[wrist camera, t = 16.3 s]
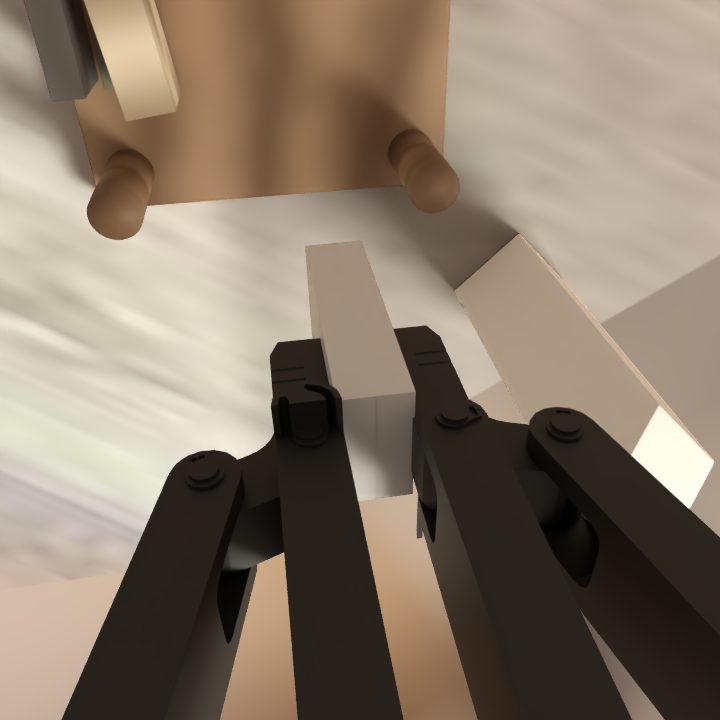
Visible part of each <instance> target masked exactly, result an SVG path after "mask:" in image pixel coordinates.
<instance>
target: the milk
mask: <svg viewBox="0 0 720 720" xmlns="http://www.w3.org/2000/svg"><path fill="white" fill-rule="evenodd" d="M455 293H456V295H457V297H458V299H459V301H460V303H461V304H462V306H463V308H464V310H465V312H466V314H467V315H468V317H469V319H470V321H471V323H472V325H473V326H474V328H475V330H476V332H477V334H478V336H479V337H480V339H481V341H482V343H483V345H484V347H485V349H486V350H487V352H488V354H489V356H490V358H491V360H492V361H493V363H494V365H495V367H496V369H497V371H498V372H499V374H500V376H501V378H502V380H503V382H504V383H505V385H506V387H507V389H508V391H509V392H510V395H511V396H512V398H513V400H514V402H515V404H516V405H517V407H518V409H519V411H520V413H521V415H522V417H523V418H524V420H525V422H526V424H527V425H529V422H530V419H531V418H532V417H533V415H534V414H535V413H536V412H538V411H540V410H542V409H544V408H551V407H564V408H571V409H574V410H576V411H579V412H582V413H584V414H585V415H587V416H588V417H590V418H591V419H593V420H594V421H595V422H596V423H597V424H598V425H599V426H600V427H601V428H602V429H603V430H605V431H606V432H607V433H608V434H609V435H610V436H611V437H612V438H613V439H614V440H615V441H616V442H617V443H619V444H620V445H621V446H622V447H623V448H624V449H625V450H626V451H627V452H628V453H629V454H630V455H631V456H633V457H634V458H635V459H636V460H637V461H638V462H639V463H640V464H641V465H642V466H643V467H644V468H645V469H647V470H648V471H649V472H650V473H651V474H652V475H653V476H654V477H655V478H656V479H657V480H658V481H659V482H661V483H662V484H663V485H664V486H665V487H666V488H667V489H668V490H669V491H670V492H671V493H672V494H673V495H675V496H676V497H677V498H678V499H679V500H680V501H681V502H682V503H683V504H684V505H685V506H686V507H687V508H689V509H690V507H691V505H692V503H693V501H694V500H695V498H696V496H697V494H698V492H699V490H700V488H701V486H702V485H703V483H704V481H705V479H706V477H707V475H708V473H709V471H710V470H711V468H712V466H713V464H714V461H713V459H712V458H711V457H710V456H709V454H708V453H707V452H706V451H705V449H704V448H703V447H702V446H701V445H700V443H699V442H698V441H697V440H696V439H695V437H694V436H693V435H692V434H691V433H690V432H689V430H688V429H687V428H686V427H685V425H684V424H683V423H682V422H681V421H680V419H679V418H678V417H677V416H676V415H675V414H674V412H673V411H672V410H671V409H670V407H669V406H668V405H667V404H666V403H665V401H664V400H663V399H662V398H661V397H660V395H659V394H658V393H657V392H656V391H655V389H654V388H653V387H652V386H651V385H650V383H649V382H648V381H647V380H646V379H645V378H644V376H643V375H642V374H641V373H640V371H639V370H638V369H637V368H636V367H635V365H634V364H633V363H632V362H631V361H630V359H628V357H627V356H626V355H625V354H624V352H623V351H622V350H621V349H620V347H619V346H618V345H617V344H616V343H615V341H614V340H613V339H612V338H611V337H610V336H609V334H608V333H607V332H606V331H605V329H604V328H603V327H602V326H601V325H600V323H599V322H598V321H597V320H596V319H595V317H594V316H593V315H592V314H591V313H590V311H589V310H588V309H587V308H586V307H585V305H584V304H583V303H582V302H581V301H580V299H579V298H578V297H577V296H576V295H575V293H574V292H573V291H572V290H571V289H570V287H569V286H568V285H567V284H566V283H565V282H564V281H563V279H562V278H561V277H560V276H559V275H558V274H557V273H556V272H555V271H554V270H553V269H552V268H551V267H550V266H549V265H548V263H547V262H546V261H545V260H544V259H543V258H542V257H541V256H540V255H539V254H538V253H537V252H536V251H535V250H534V249H533V247H532V246H531V245H530V244H529V243H528V242H527V241H526V240H525V239H524V238H523V237H522V236H521V235H520V234H518V235H517V236H515V237H514V238H513V239H512V240H511V241H510V242H509V243H508V244H506V245H505V246H504V247H503V248H502V249H501V250H500V251H499V252H497V253H496V254H495V255H494V256H493V257H492V258H491V259H490V260H488V261H487V262H486V263H485V264H484V265H483V266H482V267H481V268H480V269H478V270H477V271H476V272H475V273H474V274H473V275H472V276H471V277H469V278H468V279H467V280H466V281H465V282H464V283H463V284H462V285H460V286H459V287H458V288H457V289H456V290H455Z"/></svg>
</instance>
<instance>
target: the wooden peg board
mask: <svg viewBox="0 0 720 720" xmlns="http://www.w3.org/2000/svg"><path fill="white" fill-rule="evenodd" d="M154 1H155V4H156V8H157V11H158V14H159V18H160V21H161V25H162V28H163V32H164V35H165V38H166V42H167V45H168V49H169V52H170V55H171V59H172V62H173V66H174V69H175V72H176V76H177V79H178V83H179V86H180V89H181V93H180V97H179V101H178V105H177V109H176V112H173V113H167V114H162V115H157V116H152V117H147V118H142V119H137V120H132V121H127V122H126V120H125V117H124V114H123V111H122V108H121V106H120V103H119V100H118V97H117V94H116V91H115V88H114V86H113V83H112V80H111V77H110V74H109V71H108V68H107V65H106V63H105V60H104V57H103V54H102V51H101V48H100V45H99V43H98V40H97V37H96V34H95V31H94V28H93V25H92V22H91V20H90V17H89V14H88V11H87V8H86V5H85V2H84V0H24V2H25V6H26V9H27V13H28V17H29V20H30V24H31V27H32V31H33V35H34V38H35V42H36V45H37V49H38V53H39V56H40V60H41V63H42V67H43V71H44V74H45V78H46V81H47V85H48V89H49V92H50V96H51V99H52V101H62V100H74V103H75V107H76V110H77V114H78V118H79V122H80V126H81V130H82V133H83V137H84V141H85V145H86V149H87V153H88V156H89V160H90V164H91V168H92V172H93V176H94V180H95V183H96V188H95V190H94V192H93V194H92V197H91V199H90V201H89V203H88V207H87V216H88V220H89V222H90V224H91V225H92V227H93V228H94V229H95V230H96V231H97V232H98V233H99V234H101V235H103V236H105V237H107V238H110V239H114V240H123V239H127V238H130V237H132V236H134V235H135V234H136V233H137V232H138V231H139V230H140V228H141V226H142V223H143V219H144V215H145V212H146V208H147V206H150V205H163V204H175V203H188V202H200V201H213V200H225V199H237V198H250V197H262V196H275V195H287V194H300V193H312V192H324V191H337V190H349V189H362V188H374V187H386V186H399V185H403V186H404V188H405V189H406V191H407V193H408V195H409V197H410V198H411V200H412V202H413V203H414V205H415V206H416V207H417V208H418V209H419V210H421V211H423V212H427V213H437V212H440V211H443V210H445V209H447V208H448V207H449V206H450V205H451V204H452V203H453V202H454V201H455V199H456V197H457V195H458V192H459V179H458V177H457V175H456V173H455V172H454V170H453V169H452V168H451V167H450V165H449V164H448V163H447V161H446V160H445V159H444V157H443V146H444V125H445V104H446V83H447V62H448V42H449V21H450V0H154Z"/></svg>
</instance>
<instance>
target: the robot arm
mask: <svg viewBox="0 0 720 720" xmlns="http://www.w3.org/2000/svg"><path fill="white" fill-rule="evenodd" d="M305 251H306V263H307V276H308V289H309V302H310V315H311V328H312V336H313V339H307V340H297V341H288V342H278V343H277V345H276V346H275V348H274V350H273V351H272V353H271V355H270V365H271V378H272V391H273V399H272V403H271V411H272V419H273V426H274V434H273V436H272V438H271V440H270V441H269V442H268V443H267V444H266V446H264V447H263V448H261V449H260V450H259V451H257V452H255V453H253V454H251V455H249V456H246V457H244V458H241V459H238V460H237V459H236V458H235V457H233V456H231V455H230V454H228V453H227V452H221V451H216V450H210V451H200V452H197V453H195V454H192V455H189V456H187V457H185V458H184V459H182V460H181V461H180V462H178V463H177V464H176V465H175V466H174V467H173V469H172V470H171V472H170V473H169V475H168V477H167V480H166V482H165V484H164V486H163V489H162V491H161V493H160V496H159V498H158V500H157V502H156V505H155V507H154V509H153V512H152V514H151V516H150V518H149V521H148V523H147V525H146V528H145V530H144V532H143V534H142V537H141V539H140V541H139V544H138V546H137V548H136V550H135V553H134V555H133V557H132V560H131V562H130V564H129V566H128V569H127V571H126V573H125V576H124V578H123V580H122V582H121V585H120V587H119V590H118V592H117V594H116V596H115V598H114V601H113V603H112V605H111V608H110V610H109V612H108V614H107V617H106V619H105V621H104V624H103V626H102V628H101V630H100V633H99V635H98V637H97V640H96V642H95V644H94V646H93V649H92V651H91V654H90V656H89V658H88V660H87V663H86V665H85V667H84V669H83V672H82V674H81V676H80V678H79V681H78V683H77V685H76V688H75V690H74V692H73V694H72V697H71V699H70V701H69V704H68V706H67V708H66V710H65V713H64V715H63V718H62V720H220V716H221V712H222V708H223V704H224V700H225V696H226V692H227V688H228V684H229V680H230V676H231V672H232V668H233V664H234V660H235V656H236V652H237V648H238V644H239V640H240V636H241V632H242V628H243V624H244V620H245V616H246V612H247V608H248V604H249V600H250V596H251V592H252V588H253V584H254V580H255V576H256V572H257V564H258V563H261V562H263V561H265V560H268V559H270V558H272V557H274V556H277V555H279V554H281V553H283V552H284V554H285V566H286V579H287V591H288V604H289V616H290V628H291V641H292V652H293V665H294V677H295V690H296V701H297V714H298V720H403V715H402V711H401V706H400V701H399V696H398V691H397V686H396V682H395V677H394V672H393V667H392V663H391V658H390V653H389V648H388V643H387V639H386V633H385V628H384V624H383V619H382V614H381V609H380V604H379V600H378V595H377V590H376V585H375V580H374V576H373V571H372V566H371V561H370V556H369V552H368V546H367V541H366V537H365V532H364V527H363V522H362V517H361V513H360V508H359V503H358V501H362V500H369V499H377V498H384V497H392V496H400V495H407V494H412V493H413V479H414V482H415V485H416V488H417V492H418V509H417V538H422V531H423V533H424V536H425V540H426V543H427V546H428V550H429V553H430V556H431V560H432V564H433V567H434V570H435V574H436V577H437V581H438V584H439V588H440V591H441V595H442V598H443V601H444V605H445V609H446V612H447V615H448V619H449V622H450V626H451V629H452V632H453V636H454V640H455V643H456V646H457V650H458V653H459V657H460V660H461V664H462V667H463V671H464V674H465V677H466V681H467V684H468V688H469V691H470V695H471V698H472V701H473V705H474V708H475V712H476V715H477V719H478V720H632V719H631V717H630V715H629V713H628V711H627V708H626V706H625V704H624V702H623V700H622V698H621V696H620V693H619V691H618V689H617V687H616V685H615V683H614V681H613V679H612V677H611V674H610V672H609V670H608V668H607V666H606V664H605V662H604V660H603V658H602V656H601V653H600V651H599V649H598V647H597V645H596V643H595V641H594V639H593V637H592V634H591V632H590V630H589V628H588V626H587V624H586V622H585V620H584V618H583V615H584V616H585V617H586V618H587V620H588V621H589V622H590V624H591V625H592V626H593V627H594V629H595V630H596V631H597V633H598V634H599V635H600V636H601V638H602V639H603V640H604V642H605V643H606V644H607V645H608V647H609V648H610V649H611V651H612V652H613V653H614V655H615V656H616V657H617V658H618V660H619V661H620V662H621V663H622V665H623V666H624V667H625V669H626V670H627V671H628V672H629V674H630V675H631V676H632V678H633V679H634V680H635V682H636V683H637V684H638V686H639V687H640V688H641V689H642V691H643V692H644V693H645V695H646V696H647V697H648V698H649V700H650V701H651V702H652V704H653V705H654V706H655V707H656V709H657V710H658V711H659V713H660V714H661V715H662V717H663V718H664V719H665V720H720V537H719V536H718V535H717V534H715V533H714V532H713V531H712V530H711V529H710V528H709V527H708V526H707V525H706V524H705V523H704V522H703V521H701V520H700V519H699V518H698V517H697V516H696V515H695V514H694V513H693V512H692V511H691V510H690V509H689V508H687V507H686V506H685V505H684V504H683V503H682V502H681V501H680V500H679V499H678V498H677V497H676V496H675V495H673V494H672V493H671V492H670V491H669V490H668V489H667V488H666V487H665V486H664V485H663V484H662V483H661V482H659V481H658V480H657V479H656V478H655V477H654V476H653V475H652V474H651V473H650V472H649V471H648V470H647V469H645V468H644V467H643V466H642V465H641V464H640V463H639V462H638V461H637V460H636V459H635V458H634V457H633V456H631V455H630V454H629V453H628V452H627V451H626V450H625V449H624V448H623V447H622V446H621V445H620V444H619V443H617V442H616V441H615V440H614V439H613V438H612V437H611V436H610V435H609V434H608V433H607V432H606V431H605V430H603V429H602V428H601V427H600V426H599V425H598V424H597V423H596V422H595V421H594V420H593V419H591V418H590V417H588V416H587V415H585V414H584V413H582V412H579V411H576V410H574V409H571V408H564V407H551V408H544V409H542V410H540V411H538V412H536V413H535V414H534V415H533V417H532V418H531V419H530V422H529V425H527V424H518V423H509V422H503V421H498V420H495V419H492V418H489V417H488V415H487V413H486V412H485V411H484V410H483V409H482V407H481V406H480V405H478V404H476V403H475V402H473V401H471V400H469V399H468V397H467V395H466V392H465V390H464V388H463V386H462V384H461V381H460V379H459V377H458V375H457V373H456V370H455V368H454V366H453V364H452V363H451V360H450V357H449V355H448V353H447V352H446V349H445V346H444V344H443V342H442V340H441V338H440V336H439V335H437V334H436V333H435V332H434V331H432V330H431V329H430V328H429V327H427V326H417V327H407V328H398V329H393V327H392V324H391V322H390V319H389V316H388V313H387V311H386V308H385V305H384V302H383V299H382V297H381V294H380V291H379V288H378V286H377V283H376V280H375V277H374V274H373V272H372V269H371V266H370V263H369V261H368V258H367V255H366V252H365V249H364V247H363V244H362V241H355V242H344V243H333V244H322V245H311V246H305ZM581 612H582V613H583V615H582V613H581Z"/></svg>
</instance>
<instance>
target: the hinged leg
mask: <svg viewBox="0 0 720 720" xmlns="http://www.w3.org/2000/svg"><path fill="white" fill-rule="evenodd" d="M84 2H85V5H86V8H87V11H88V14H89V17H90V20H91V22H92V25H93V28H94V31H95V34H96V37H97V40H98V43H99V45H100V48H101V51H102V54H103V57H104V60H105V63H106V65H107V68H108V71H109V74H110V77H111V80H112V83H113V86H114V88H115V91H116V94H117V97H118V100H119V103H120V106H121V108H122V111H123V114H124V117H125V120H126V122H127V121H132V120H137V119H142V118H147V117H152V116H157V115H162V114H167V113H173V112H176V109H177V105H178V101H179V97H180V93H181V89H180V86H179V83H178V79H177V76H176V72H175V69H174V66H173V62H172V59H171V55H170V52H169V49H168V45H167V42H166V38H165V35H164V32H163V28H162V25H161V21H160V18H159V14H158V11H157V8H156V4H155V1H154V0H84Z"/></svg>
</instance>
